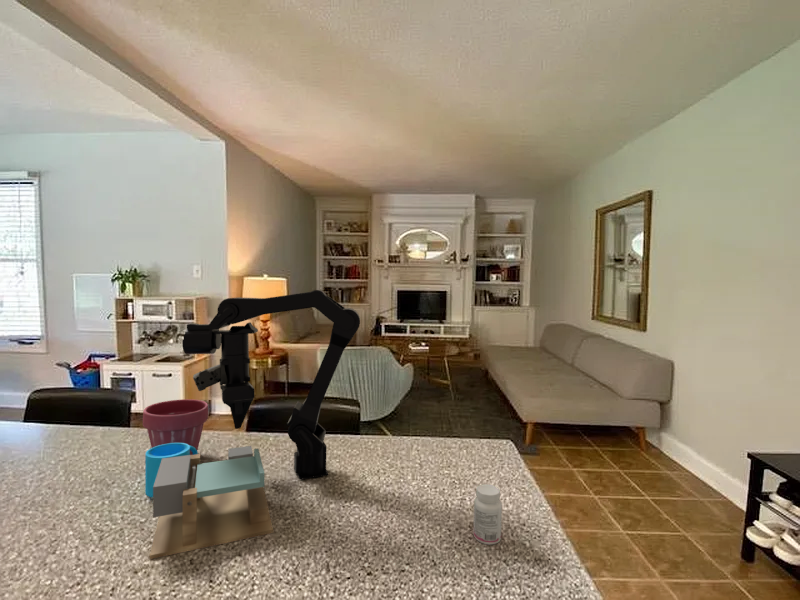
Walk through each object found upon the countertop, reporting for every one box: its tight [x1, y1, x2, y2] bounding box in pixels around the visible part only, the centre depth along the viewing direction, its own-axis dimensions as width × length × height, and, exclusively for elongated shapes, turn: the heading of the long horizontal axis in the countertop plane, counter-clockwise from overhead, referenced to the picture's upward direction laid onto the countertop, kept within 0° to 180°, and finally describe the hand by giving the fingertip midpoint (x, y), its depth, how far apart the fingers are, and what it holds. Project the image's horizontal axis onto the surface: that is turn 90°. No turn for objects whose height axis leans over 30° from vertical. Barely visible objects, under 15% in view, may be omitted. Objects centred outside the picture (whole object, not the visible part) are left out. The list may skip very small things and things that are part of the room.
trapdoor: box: [152, 448, 266, 518], centre depth 76 cm, size 17×12×5 cm
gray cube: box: [227, 445, 254, 460], centre depth 95 cm, size 5×5×5 cm
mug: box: [144, 443, 199, 499], centre depth 89 cm, size 12×8×8 cm
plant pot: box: [142, 398, 209, 455], centre depth 102 cm, size 14×14×13 cm
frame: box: [149, 453, 274, 560], centre depth 77 cm, size 18×18×9 cm
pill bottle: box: [473, 483, 503, 546], centre depth 72 cm, size 5×5×8 cm
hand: (236, 422), depth 94 cm, fingers open, 9 cm apart
